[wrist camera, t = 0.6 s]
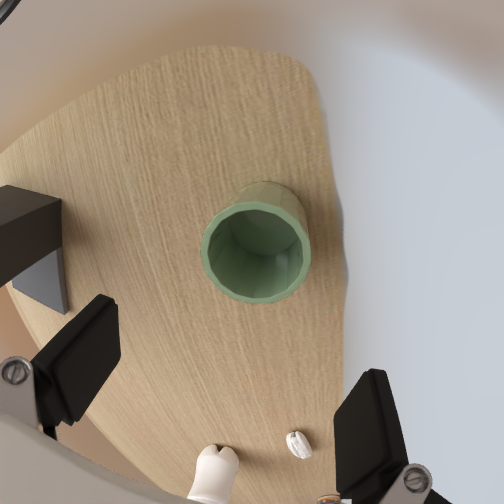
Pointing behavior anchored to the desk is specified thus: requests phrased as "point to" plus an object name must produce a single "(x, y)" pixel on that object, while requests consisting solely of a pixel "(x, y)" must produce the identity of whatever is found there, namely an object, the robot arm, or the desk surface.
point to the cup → (258, 245)
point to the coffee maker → (32, 246)
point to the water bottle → (214, 475)
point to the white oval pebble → (299, 445)
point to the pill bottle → (329, 499)
